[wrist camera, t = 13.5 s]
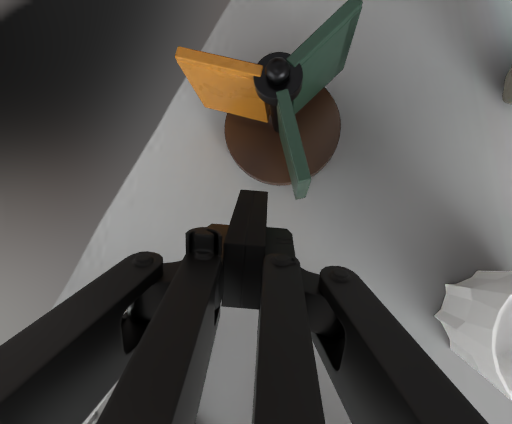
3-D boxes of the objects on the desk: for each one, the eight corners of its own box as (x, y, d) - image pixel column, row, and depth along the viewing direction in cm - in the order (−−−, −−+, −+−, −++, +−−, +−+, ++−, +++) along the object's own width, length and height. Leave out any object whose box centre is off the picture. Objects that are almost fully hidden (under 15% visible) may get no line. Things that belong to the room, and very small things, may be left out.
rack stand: (357, 101, 33) (360, 96, 32) (309, 204, 32) (310, 202, 31) (255, 61, 34) (254, 55, 33) (208, 158, 34) (205, 155, 33)
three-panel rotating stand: (340, 201, 30) (368, 178, 20) (202, 199, 32) (158, 176, 21) (341, 68, 32) (368, -23, 21) (209, 71, 33) (171, -11, 22)
